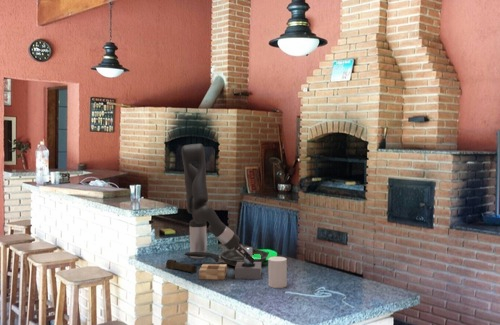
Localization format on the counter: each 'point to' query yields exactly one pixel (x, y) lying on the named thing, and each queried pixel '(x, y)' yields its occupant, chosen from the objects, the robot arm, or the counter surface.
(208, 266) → the square frame block
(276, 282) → the cup
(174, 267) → the hand tool
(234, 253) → the frying pan
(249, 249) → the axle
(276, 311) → the counter surface
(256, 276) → the holder block
